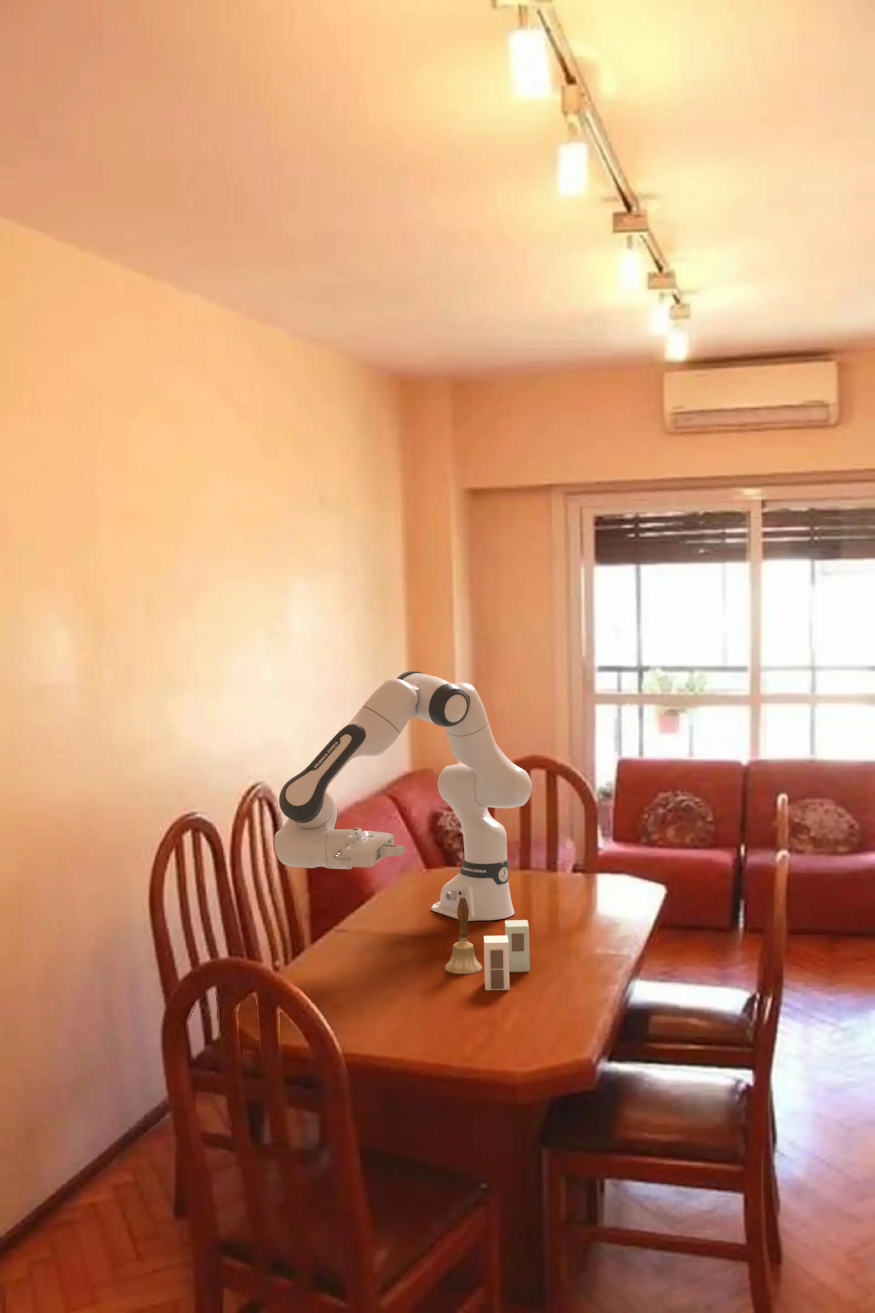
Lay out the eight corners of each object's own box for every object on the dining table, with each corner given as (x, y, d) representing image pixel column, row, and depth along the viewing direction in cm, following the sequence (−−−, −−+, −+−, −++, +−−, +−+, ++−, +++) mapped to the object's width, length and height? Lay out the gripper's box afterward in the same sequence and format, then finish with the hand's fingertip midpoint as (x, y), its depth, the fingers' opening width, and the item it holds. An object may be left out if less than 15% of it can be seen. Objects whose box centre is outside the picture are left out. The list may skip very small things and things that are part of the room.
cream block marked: (484, 982, 243) (483, 936, 242) (508, 982, 243) (507, 935, 242) (485, 990, 237) (484, 943, 237) (509, 990, 237) (508, 942, 237)
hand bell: (486, 964, 255) (485, 893, 254) (476, 976, 247) (474, 903, 246) (451, 961, 257) (449, 891, 257) (439, 973, 250) (438, 900, 249)
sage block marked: (505, 965, 254) (504, 920, 254) (528, 964, 254) (527, 920, 254) (506, 972, 249) (506, 927, 248) (529, 972, 249) (528, 926, 248)
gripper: (329, 844, 247) (391, 846, 244) (356, 826, 267) (413, 827, 264) (330, 873, 247) (392, 875, 244) (357, 853, 267) (414, 855, 264)
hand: (403, 850), depth 254 cm, fingers closed
